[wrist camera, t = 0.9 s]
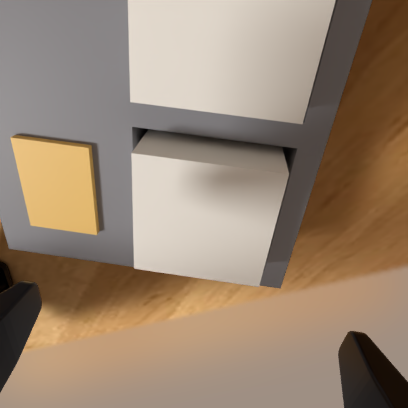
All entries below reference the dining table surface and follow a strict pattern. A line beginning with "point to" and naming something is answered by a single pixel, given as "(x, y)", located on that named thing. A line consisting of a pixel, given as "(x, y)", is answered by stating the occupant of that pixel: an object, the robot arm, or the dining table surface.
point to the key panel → (126, 129)
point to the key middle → (227, 55)
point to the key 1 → (205, 205)
